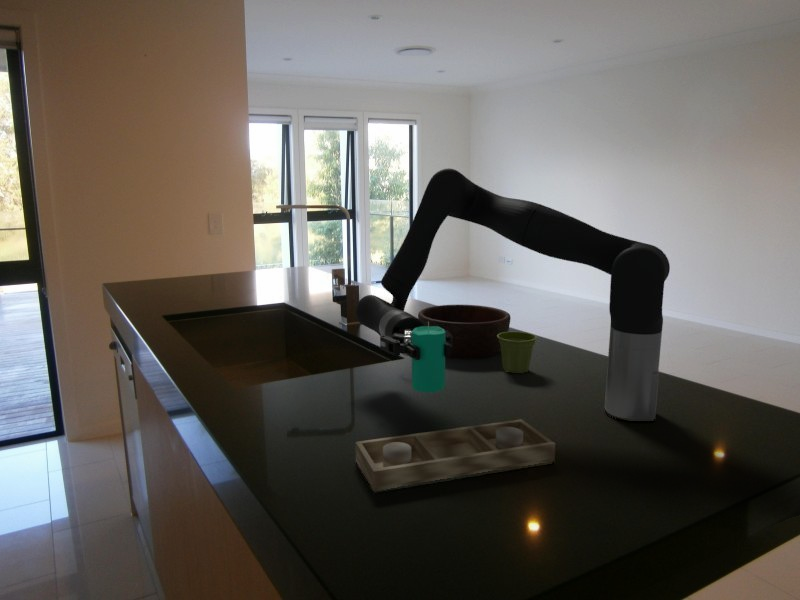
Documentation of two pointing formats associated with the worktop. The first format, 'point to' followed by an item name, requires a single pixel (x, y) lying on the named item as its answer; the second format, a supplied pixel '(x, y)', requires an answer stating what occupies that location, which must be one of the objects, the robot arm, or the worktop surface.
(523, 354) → the plant pot
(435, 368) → the candle
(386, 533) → the worktop surface
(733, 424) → the worktop surface
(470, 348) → the wooden bowl
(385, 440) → the tray
